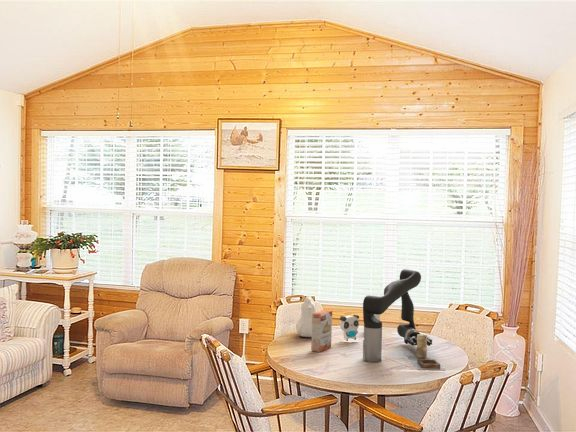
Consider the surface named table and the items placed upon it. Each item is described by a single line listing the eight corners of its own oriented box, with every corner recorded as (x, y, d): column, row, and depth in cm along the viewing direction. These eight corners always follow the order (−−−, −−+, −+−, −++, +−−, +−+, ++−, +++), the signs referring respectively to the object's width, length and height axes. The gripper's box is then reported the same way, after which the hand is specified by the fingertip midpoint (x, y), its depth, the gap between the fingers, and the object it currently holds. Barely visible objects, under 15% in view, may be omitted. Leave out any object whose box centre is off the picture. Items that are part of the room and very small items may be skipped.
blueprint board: (417, 370, 262) (417, 368, 262) (406, 357, 284) (406, 356, 284) (445, 370, 263) (445, 368, 263) (432, 358, 285) (432, 356, 285)
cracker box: (320, 352, 291) (321, 314, 291) (310, 351, 294) (311, 313, 294) (332, 347, 303) (332, 310, 303) (322, 345, 306) (323, 309, 306)
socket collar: (421, 368, 263) (422, 364, 263) (417, 363, 272) (417, 359, 272) (440, 368, 263) (440, 364, 263) (434, 363, 272) (435, 359, 272)
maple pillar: (418, 359, 278) (418, 336, 278) (415, 356, 283) (416, 334, 283) (427, 359, 278) (428, 336, 278) (425, 356, 284) (425, 334, 283)
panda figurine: (346, 344, 311) (347, 318, 311) (335, 339, 321) (336, 314, 321) (363, 341, 317) (363, 316, 317) (351, 337, 327) (352, 313, 327)
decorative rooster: (319, 340, 318) (320, 298, 318) (293, 339, 321) (294, 297, 321) (324, 331, 343) (324, 292, 343) (299, 329, 346) (300, 291, 345)
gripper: (400, 329, 298) (407, 336, 281) (426, 330, 298) (434, 337, 282) (400, 343, 298) (407, 351, 282) (426, 343, 298) (434, 351, 282)
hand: (421, 344), depth 282 cm, fingers open, 8 cm apart
